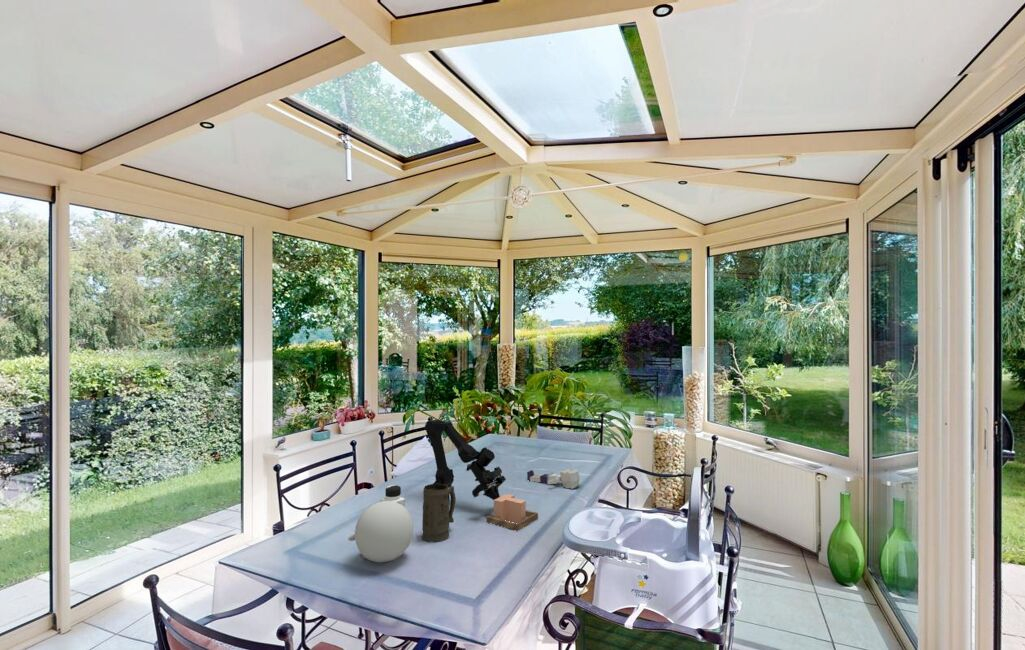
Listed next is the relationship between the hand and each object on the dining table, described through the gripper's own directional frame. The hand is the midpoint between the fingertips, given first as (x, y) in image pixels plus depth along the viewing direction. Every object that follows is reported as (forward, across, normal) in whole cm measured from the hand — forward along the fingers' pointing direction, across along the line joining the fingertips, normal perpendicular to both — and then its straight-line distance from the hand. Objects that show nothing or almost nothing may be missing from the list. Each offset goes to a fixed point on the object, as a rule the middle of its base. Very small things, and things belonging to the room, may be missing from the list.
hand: (500, 502), depth 203 cm
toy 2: (-3, -55, +12) cm, 57 cm away
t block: (+9, 0, 0) cm, 9 cm away
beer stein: (-2, -28, +11) cm, 30 cm away
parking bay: (+9, 0, 0) cm, 9 cm away
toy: (+2, +55, +8) cm, 56 cm away
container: (-23, -26, +33) cm, 48 cm away
